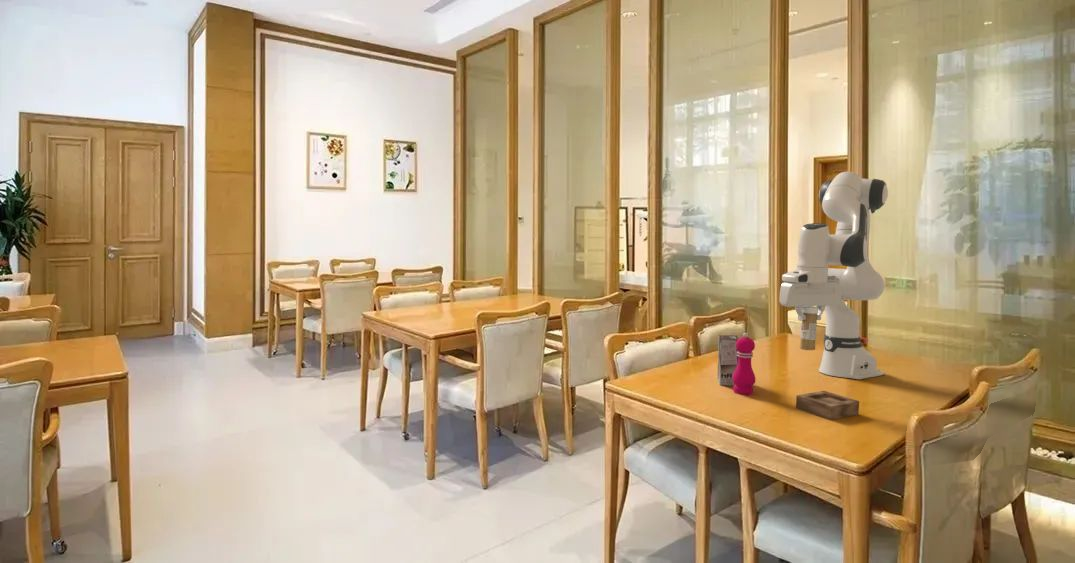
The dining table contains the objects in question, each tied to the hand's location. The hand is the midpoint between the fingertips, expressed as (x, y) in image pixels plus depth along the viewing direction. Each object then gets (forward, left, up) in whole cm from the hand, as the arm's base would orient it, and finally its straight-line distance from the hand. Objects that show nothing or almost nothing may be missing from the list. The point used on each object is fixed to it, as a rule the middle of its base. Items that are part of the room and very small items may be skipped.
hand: (809, 320), depth 187 cm
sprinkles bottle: (0, 0, -9) cm, 9 cm away
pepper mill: (+13, -14, -26) cm, 32 cm away
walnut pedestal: (+1, +10, -26) cm, 28 cm away
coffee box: (+11, -26, -26) cm, 38 cm away
